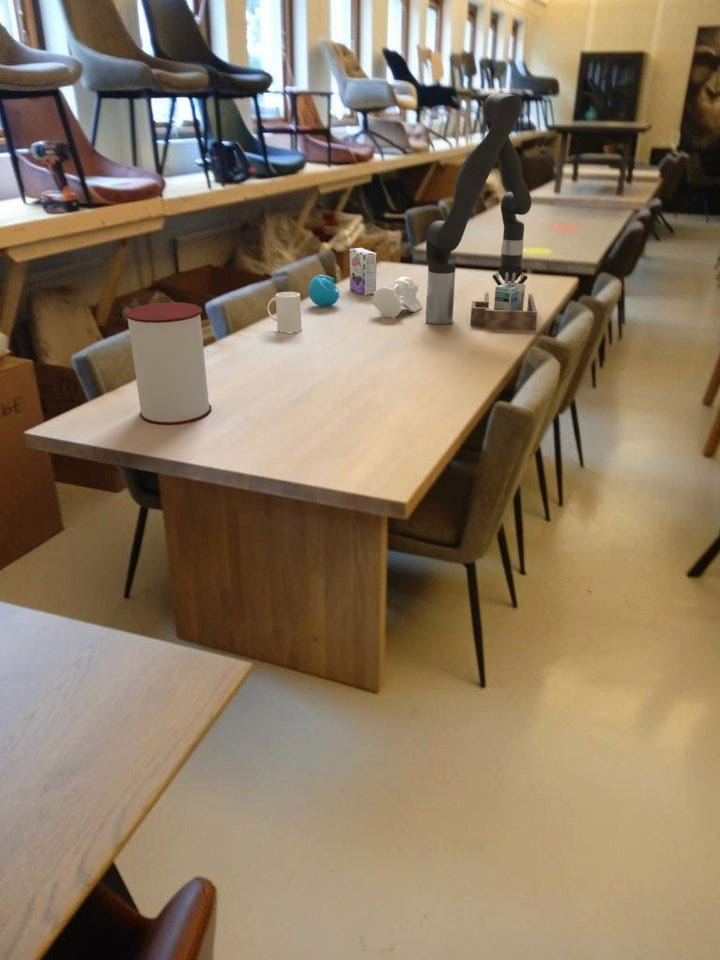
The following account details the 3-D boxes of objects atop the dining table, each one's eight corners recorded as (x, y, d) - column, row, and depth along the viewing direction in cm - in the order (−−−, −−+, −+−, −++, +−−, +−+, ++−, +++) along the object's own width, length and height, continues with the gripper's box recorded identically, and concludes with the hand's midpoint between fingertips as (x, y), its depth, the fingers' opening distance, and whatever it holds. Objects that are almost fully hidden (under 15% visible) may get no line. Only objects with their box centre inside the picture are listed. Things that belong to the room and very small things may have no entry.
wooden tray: (470, 327, 253) (471, 310, 251) (471, 308, 278) (472, 292, 275) (535, 330, 251) (537, 312, 248) (530, 310, 275) (532, 294, 272)
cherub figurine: (366, 286, 264) (393, 270, 279) (369, 320, 271) (395, 303, 285) (399, 289, 258) (424, 273, 272) (401, 324, 264) (426, 306, 279)
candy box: (349, 289, 307) (348, 248, 300) (362, 288, 309) (362, 247, 302) (363, 296, 296) (363, 253, 289) (376, 295, 298) (377, 252, 291)
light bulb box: (509, 319, 263) (512, 288, 258) (492, 316, 267) (494, 286, 262) (523, 313, 270) (526, 283, 266) (506, 311, 274) (509, 281, 269)
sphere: (338, 310, 276) (338, 278, 270) (307, 310, 276) (306, 278, 271) (340, 302, 286) (339, 271, 281) (310, 302, 287) (309, 271, 281)
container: (216, 399, 192) (207, 301, 181) (206, 424, 177) (195, 319, 165) (148, 400, 191) (135, 302, 180) (132, 425, 176) (116, 320, 165)
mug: (263, 331, 250) (261, 295, 245) (275, 324, 257) (273, 289, 252) (295, 334, 246) (293, 298, 241) (306, 328, 254) (305, 292, 248)
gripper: (493, 253, 263) (489, 303, 271) (531, 254, 261) (526, 304, 269) (492, 250, 270) (489, 298, 277) (530, 250, 268) (525, 299, 276)
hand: (507, 301), depth 273 cm, fingers closed
